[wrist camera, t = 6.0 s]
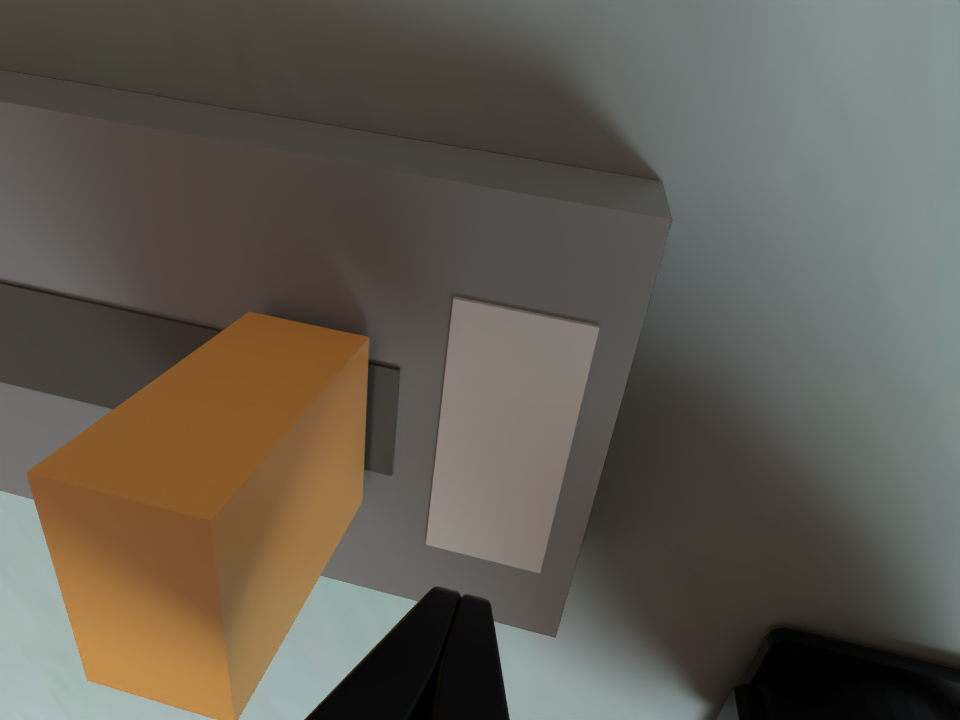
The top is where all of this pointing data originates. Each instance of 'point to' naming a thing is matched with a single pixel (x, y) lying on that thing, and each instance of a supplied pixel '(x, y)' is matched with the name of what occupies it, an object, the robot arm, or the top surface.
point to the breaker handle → (208, 511)
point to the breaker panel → (337, 311)
